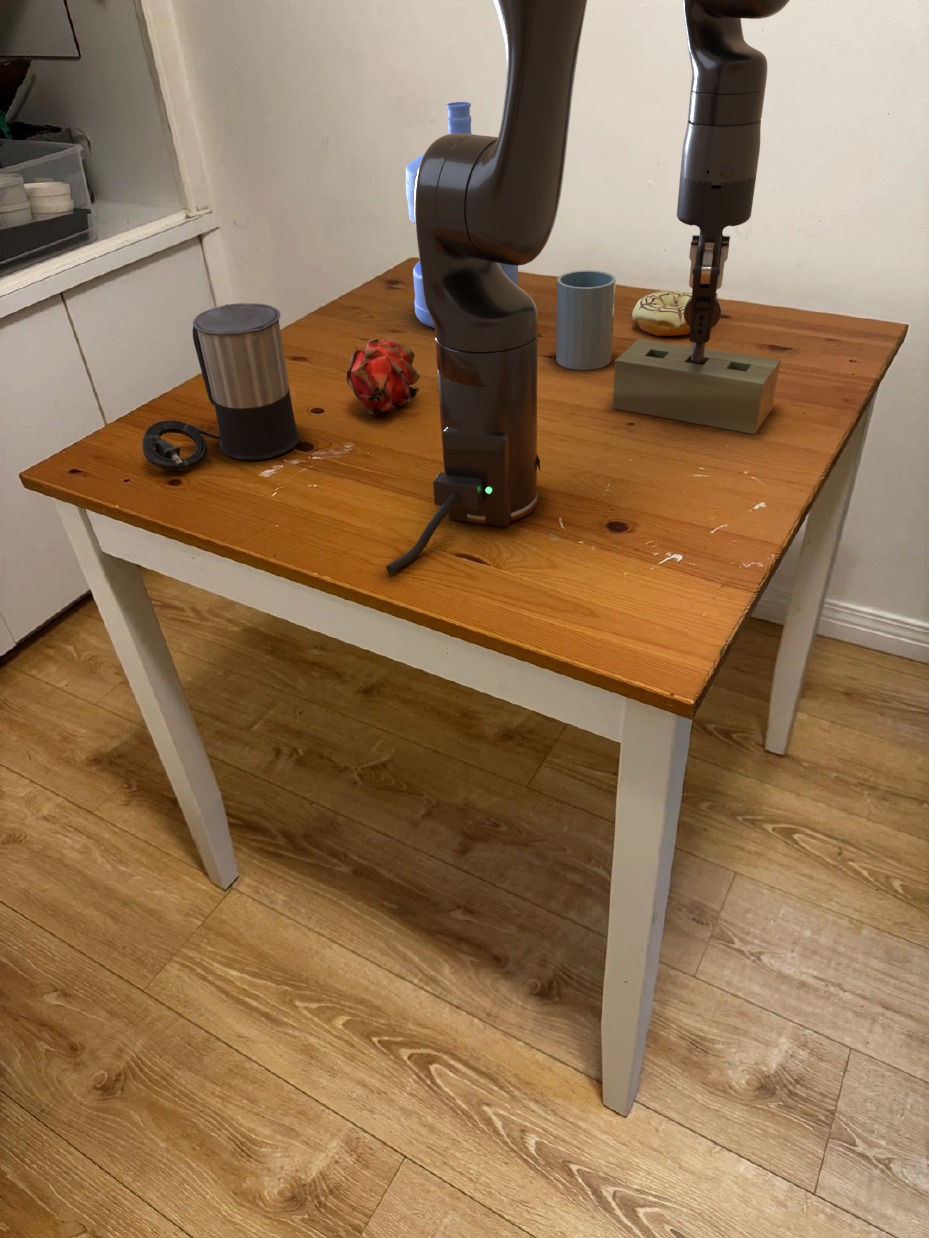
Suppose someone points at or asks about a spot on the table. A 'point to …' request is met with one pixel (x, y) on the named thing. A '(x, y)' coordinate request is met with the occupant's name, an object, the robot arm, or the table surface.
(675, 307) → the decorated donut
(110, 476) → the table surface
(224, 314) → the milk frother
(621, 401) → the stand
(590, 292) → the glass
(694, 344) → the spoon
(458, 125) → the water jug
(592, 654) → the table surface
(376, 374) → the dragon fruit
